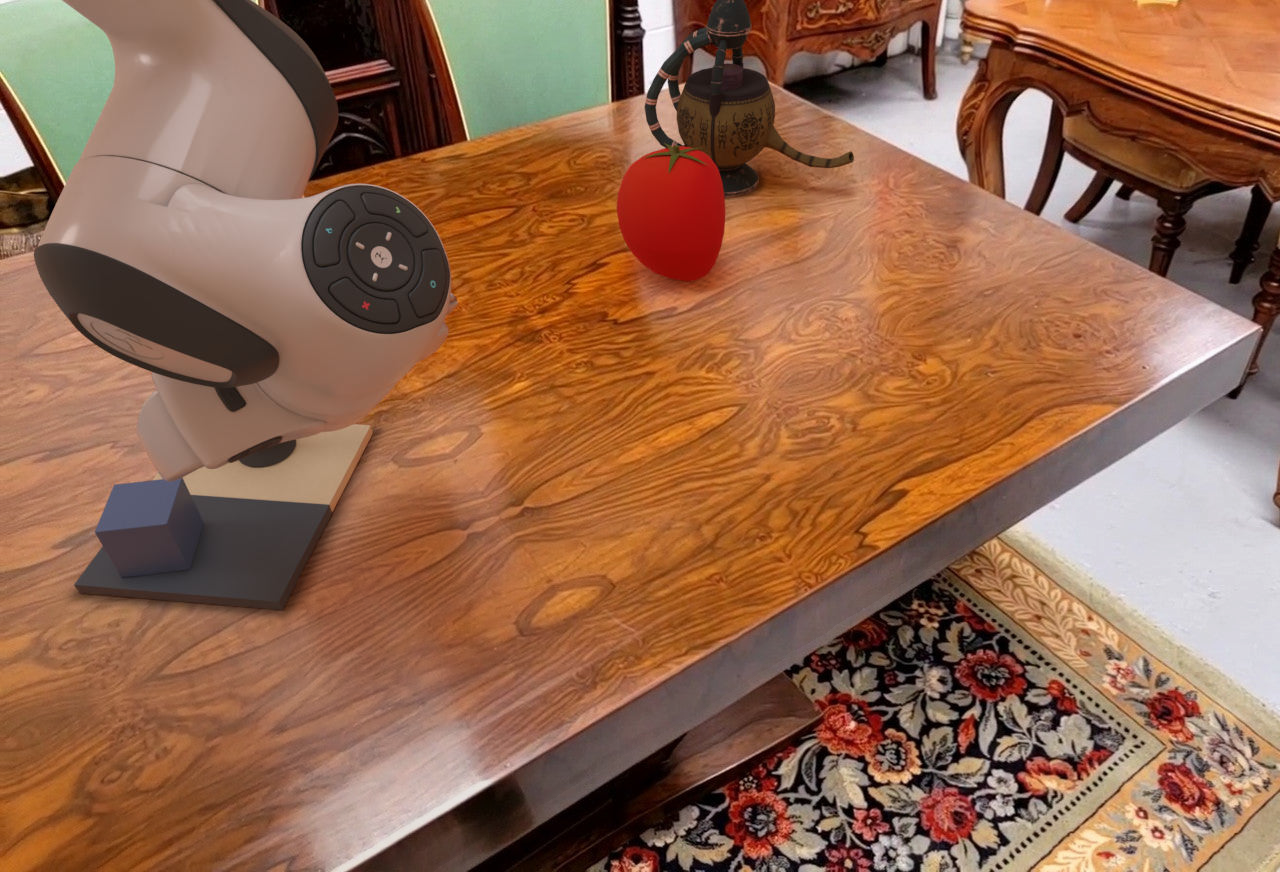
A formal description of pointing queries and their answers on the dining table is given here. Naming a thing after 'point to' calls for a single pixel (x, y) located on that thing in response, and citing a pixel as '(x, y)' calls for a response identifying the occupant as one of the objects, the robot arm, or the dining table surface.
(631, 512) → the dining table surface
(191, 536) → the blue block
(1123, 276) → the dining table surface
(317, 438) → the board
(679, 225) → the tomato
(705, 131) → the teapot
